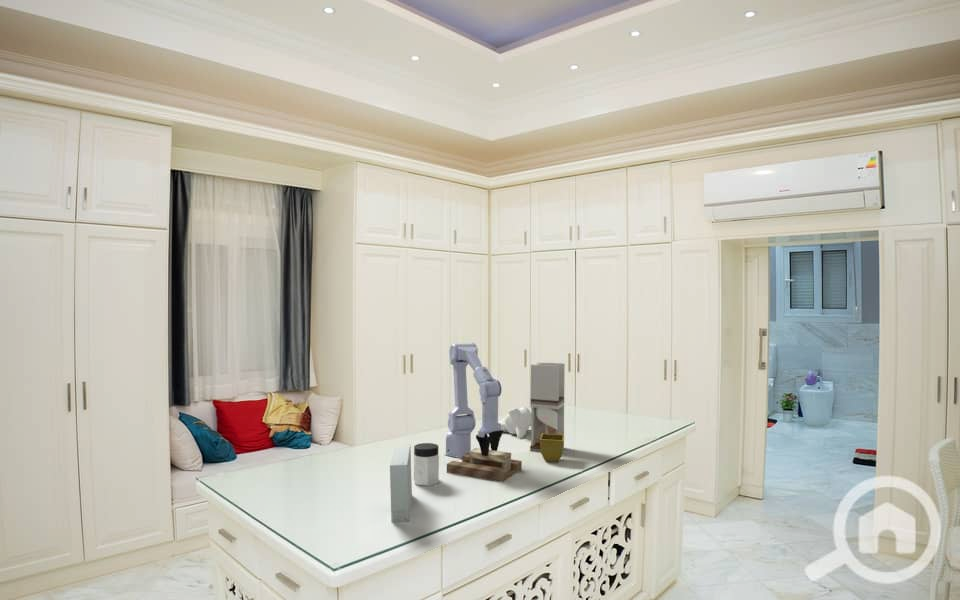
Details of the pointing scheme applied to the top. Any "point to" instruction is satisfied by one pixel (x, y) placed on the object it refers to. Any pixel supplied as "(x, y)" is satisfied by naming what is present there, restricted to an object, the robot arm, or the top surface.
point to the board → (483, 469)
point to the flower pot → (551, 447)
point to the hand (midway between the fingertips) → (489, 453)
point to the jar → (426, 464)
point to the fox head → (517, 421)
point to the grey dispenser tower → (546, 401)
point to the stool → (491, 457)
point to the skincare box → (400, 483)
